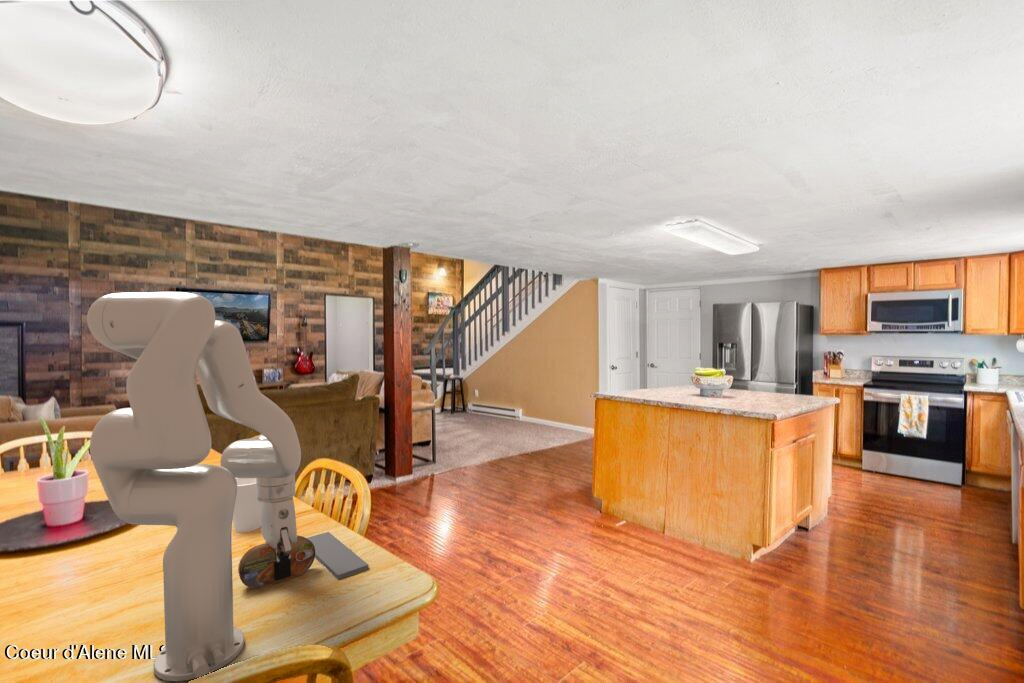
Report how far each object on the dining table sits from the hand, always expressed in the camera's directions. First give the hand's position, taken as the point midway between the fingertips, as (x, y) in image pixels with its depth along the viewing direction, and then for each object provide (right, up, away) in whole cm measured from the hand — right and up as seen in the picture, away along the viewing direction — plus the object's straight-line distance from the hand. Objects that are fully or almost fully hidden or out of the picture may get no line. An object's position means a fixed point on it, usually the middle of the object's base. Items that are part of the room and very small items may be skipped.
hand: (278, 572), depth 106 cm
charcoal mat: (+8, -1, +11) cm, 13 cm away
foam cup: (-22, -1, +28) cm, 35 cm away
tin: (0, -2, 0) cm, 2 cm away
